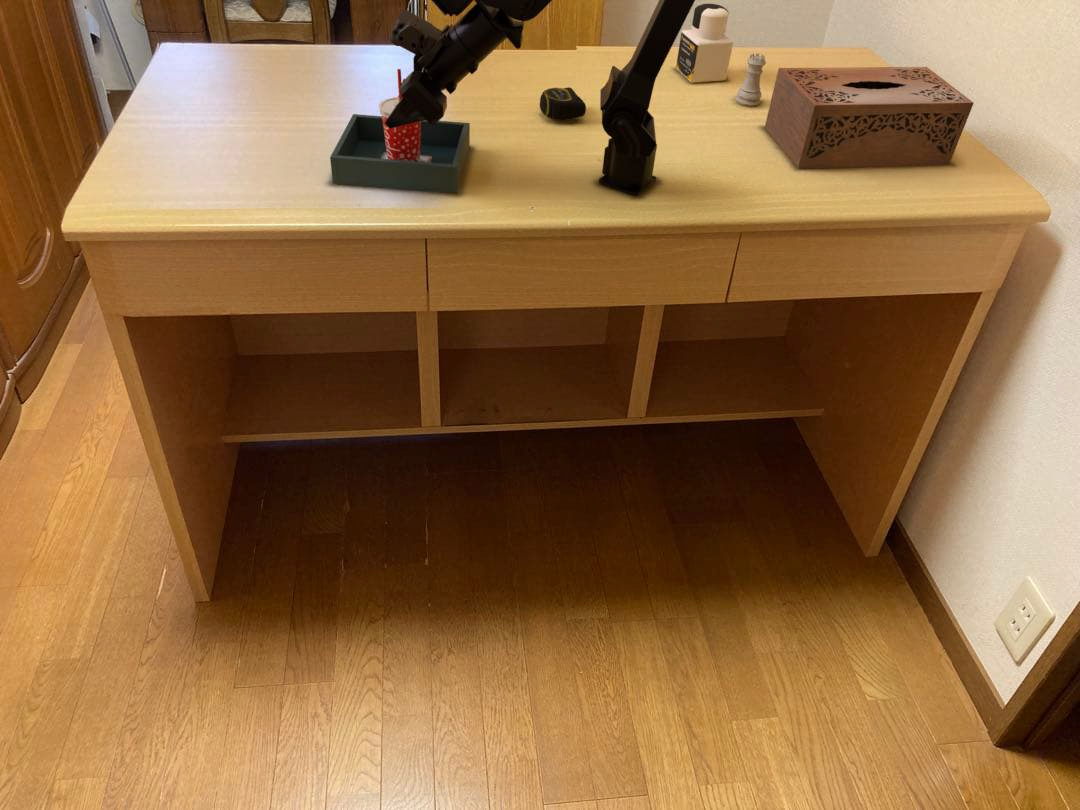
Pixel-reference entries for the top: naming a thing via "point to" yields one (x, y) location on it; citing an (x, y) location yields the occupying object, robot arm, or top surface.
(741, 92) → the rook chess piece
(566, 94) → the tape measure
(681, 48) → the medicine bottle
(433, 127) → the crate
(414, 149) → the beverage cup
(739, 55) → the top surface
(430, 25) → the robot arm
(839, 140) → the tissue box cover
